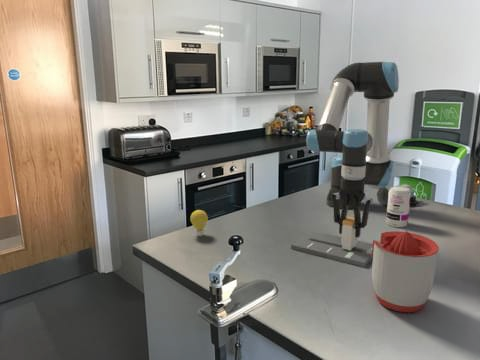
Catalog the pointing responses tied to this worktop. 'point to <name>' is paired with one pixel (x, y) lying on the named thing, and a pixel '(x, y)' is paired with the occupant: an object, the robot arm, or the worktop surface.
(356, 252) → the fader panel
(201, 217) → the light bulb
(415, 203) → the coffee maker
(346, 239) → the fader knob
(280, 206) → the worktop surface
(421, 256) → the citrus juicer
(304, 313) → the worktop surface
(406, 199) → the supplement can
